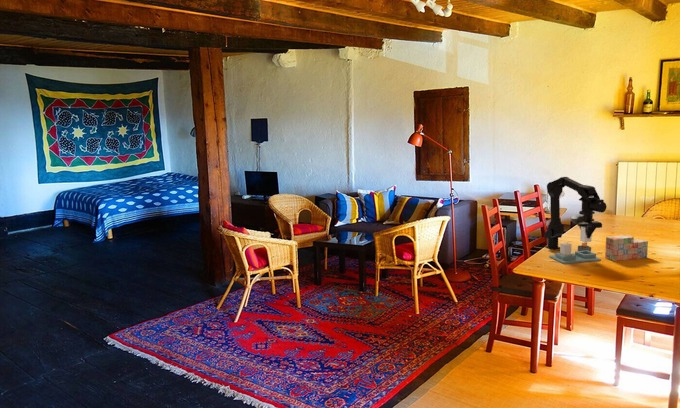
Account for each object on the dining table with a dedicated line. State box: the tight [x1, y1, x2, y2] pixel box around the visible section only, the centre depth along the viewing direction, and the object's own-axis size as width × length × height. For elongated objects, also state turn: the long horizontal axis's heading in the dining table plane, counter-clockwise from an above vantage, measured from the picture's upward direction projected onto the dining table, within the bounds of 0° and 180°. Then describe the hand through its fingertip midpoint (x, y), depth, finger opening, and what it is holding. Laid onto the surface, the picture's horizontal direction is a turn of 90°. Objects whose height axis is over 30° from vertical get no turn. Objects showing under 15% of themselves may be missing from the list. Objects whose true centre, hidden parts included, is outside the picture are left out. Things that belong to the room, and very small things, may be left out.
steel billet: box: [579, 226, 593, 243], centre depth 294 cm, size 4×4×8 cm
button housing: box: [577, 244, 592, 252], centre depth 309 cm, size 5×5×3 cm
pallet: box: [548, 242, 602, 265], centre depth 295 cm, size 14×22×9 cm, turn 100°
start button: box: [581, 241, 588, 248], centre depth 309 cm, size 3×3×3 cm
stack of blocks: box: [604, 234, 649, 262], centre depth 293 cm, size 21×6×12 cm, turn 101°
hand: (586, 237), depth 295 cm, fingers closed on steel billet, 4 cm apart
